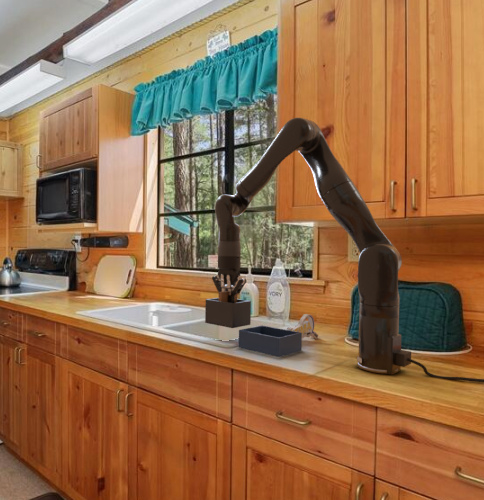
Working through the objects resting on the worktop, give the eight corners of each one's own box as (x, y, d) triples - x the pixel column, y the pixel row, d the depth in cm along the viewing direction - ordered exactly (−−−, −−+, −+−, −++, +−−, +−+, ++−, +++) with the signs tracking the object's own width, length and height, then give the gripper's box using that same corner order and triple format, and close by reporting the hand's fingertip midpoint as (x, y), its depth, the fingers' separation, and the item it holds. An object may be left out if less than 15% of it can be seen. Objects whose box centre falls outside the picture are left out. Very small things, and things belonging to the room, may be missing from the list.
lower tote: (301, 352, 132) (301, 332, 132) (278, 359, 124) (279, 338, 124) (261, 343, 143) (261, 325, 142) (238, 349, 135) (238, 329, 134)
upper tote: (250, 324, 145) (251, 291, 145) (232, 328, 139) (233, 294, 139) (223, 319, 154) (223, 288, 154) (205, 322, 148) (205, 290, 147)
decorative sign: (290, 355, 140) (287, 325, 139) (286, 354, 141) (283, 325, 140) (318, 337, 151) (316, 310, 150) (315, 337, 152) (312, 309, 151)
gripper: (206, 254, 149) (205, 304, 149) (238, 255, 138) (237, 309, 139) (220, 253, 154) (219, 302, 154) (252, 255, 143) (251, 307, 144)
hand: (228, 305), depth 146 cm, fingers closed on upper tote, 1 cm apart
